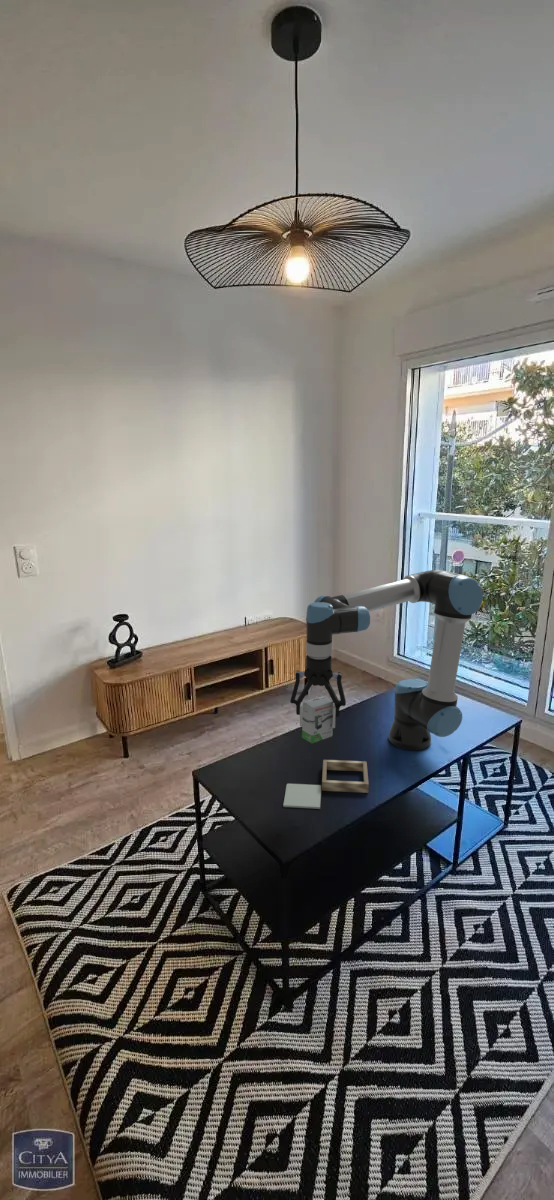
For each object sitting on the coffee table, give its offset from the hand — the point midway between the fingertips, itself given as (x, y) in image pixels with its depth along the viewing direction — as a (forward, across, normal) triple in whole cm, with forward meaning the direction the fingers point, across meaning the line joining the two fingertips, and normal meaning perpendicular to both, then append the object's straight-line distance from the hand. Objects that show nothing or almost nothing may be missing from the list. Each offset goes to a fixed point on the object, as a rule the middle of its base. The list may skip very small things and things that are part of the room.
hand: (317, 724), depth 156 cm
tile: (+23, +4, +3) cm, 23 cm away
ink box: (+4, 0, 0) cm, 4 cm away
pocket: (+22, -9, -7) cm, 25 cm away
